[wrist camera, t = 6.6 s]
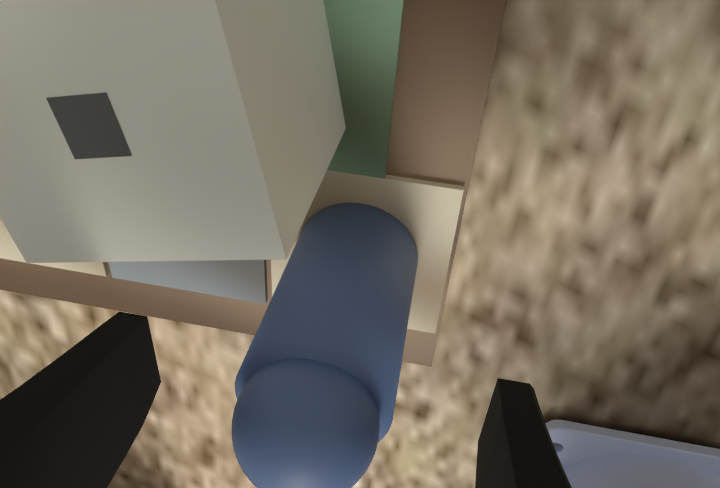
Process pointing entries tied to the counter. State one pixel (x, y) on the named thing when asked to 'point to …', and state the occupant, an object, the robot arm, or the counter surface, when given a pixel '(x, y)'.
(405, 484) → the counter surface
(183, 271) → the board
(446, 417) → the counter surface
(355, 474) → the blue cylinder
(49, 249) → the beige cube
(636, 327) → the counter surface
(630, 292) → the counter surface
